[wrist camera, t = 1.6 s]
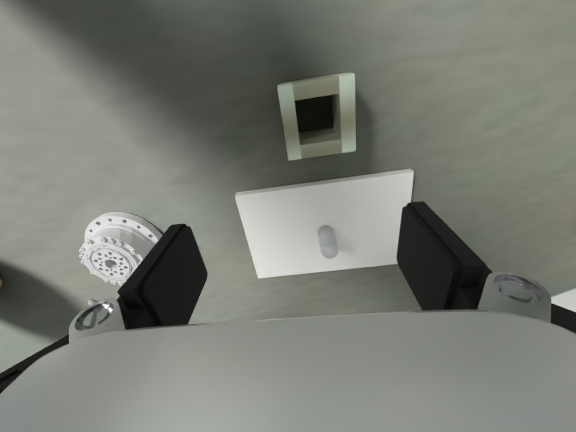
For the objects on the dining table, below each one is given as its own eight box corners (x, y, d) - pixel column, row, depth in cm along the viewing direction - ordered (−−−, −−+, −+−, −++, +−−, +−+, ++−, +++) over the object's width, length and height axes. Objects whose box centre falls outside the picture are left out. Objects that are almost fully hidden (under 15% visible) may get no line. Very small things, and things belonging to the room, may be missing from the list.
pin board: (236, 192, 30) (225, 215, 25) (410, 168, 28) (434, 189, 23) (259, 273, 36) (254, 304, 31) (401, 258, 34) (418, 288, 30)
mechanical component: (166, 276, 37) (171, 222, 32) (152, 300, 33) (155, 242, 28) (95, 260, 36) (88, 201, 31) (71, 283, 32) (60, 219, 27)
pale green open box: (279, 83, 24) (276, 86, 20) (343, 72, 23) (354, 73, 19) (289, 145, 27) (288, 160, 23) (345, 137, 26) (356, 151, 22)
